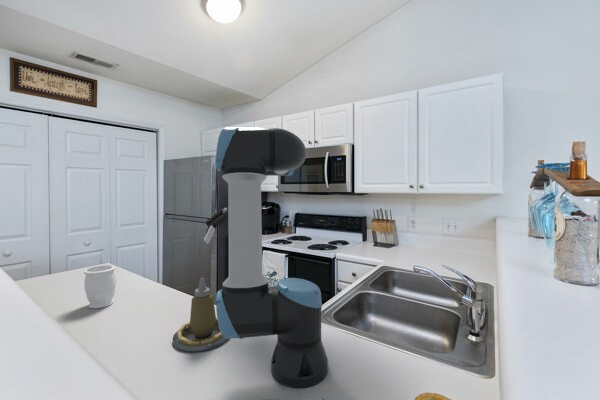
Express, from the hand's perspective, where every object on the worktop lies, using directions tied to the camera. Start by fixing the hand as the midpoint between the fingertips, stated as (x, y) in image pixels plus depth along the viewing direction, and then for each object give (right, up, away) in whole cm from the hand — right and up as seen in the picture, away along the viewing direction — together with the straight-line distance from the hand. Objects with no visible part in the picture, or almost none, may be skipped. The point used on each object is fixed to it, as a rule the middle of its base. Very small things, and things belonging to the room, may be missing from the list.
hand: (222, 242), depth 103 cm
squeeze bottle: (-3, -28, -11) cm, 30 cm away
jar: (-53, -27, +13) cm, 61 cm away
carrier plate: (-3, -28, -11) cm, 31 cm away
